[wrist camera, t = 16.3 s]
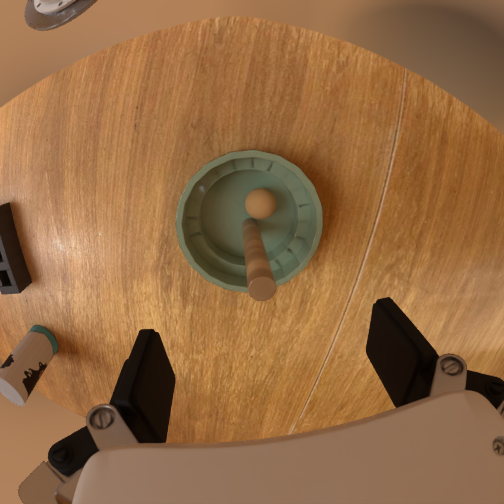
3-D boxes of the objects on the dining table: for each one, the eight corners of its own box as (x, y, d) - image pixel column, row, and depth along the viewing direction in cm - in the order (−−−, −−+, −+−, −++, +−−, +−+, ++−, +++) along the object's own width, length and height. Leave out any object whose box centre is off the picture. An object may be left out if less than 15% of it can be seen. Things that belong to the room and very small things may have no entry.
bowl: (176, 159, 32) (165, 162, 26) (304, 145, 32) (319, 145, 26) (196, 276, 37) (190, 299, 32) (310, 262, 38) (323, 282, 32)
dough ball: (259, 176, 31) (259, 196, 29) (281, 192, 33) (284, 213, 31) (238, 194, 33) (237, 215, 31) (261, 209, 35) (261, 230, 33)
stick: (242, 216, 34) (250, 275, 19) (258, 218, 34) (279, 277, 19) (240, 232, 35) (246, 300, 20) (256, 234, 35) (273, 302, 20)
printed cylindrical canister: (27, 333, 40) (-10, 381, 26) (39, 319, 39) (-3, 371, 25) (50, 357, 42) (18, 409, 28) (63, 345, 41) (28, 402, 27)
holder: (-9, 209, 31) (-23, 215, 27) (9, 202, 31) (-7, 208, 27) (14, 284, 36) (1, 294, 32) (32, 282, 36) (19, 293, 32)
